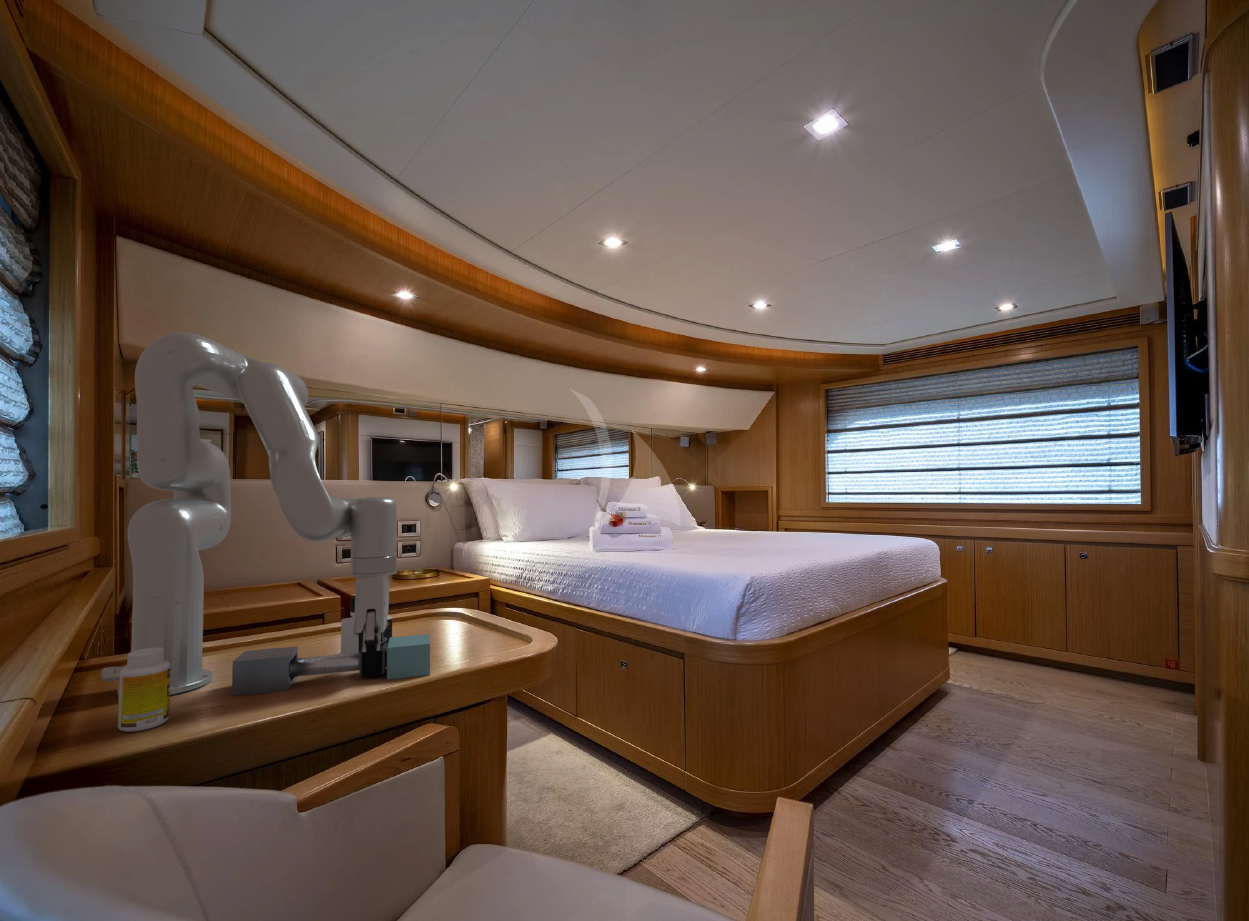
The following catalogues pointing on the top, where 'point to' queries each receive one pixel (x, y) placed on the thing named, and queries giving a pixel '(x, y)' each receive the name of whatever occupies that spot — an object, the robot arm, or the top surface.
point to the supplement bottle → (144, 690)
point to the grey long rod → (332, 664)
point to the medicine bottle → (355, 643)
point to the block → (408, 656)
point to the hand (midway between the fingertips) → (373, 669)
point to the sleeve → (263, 671)
